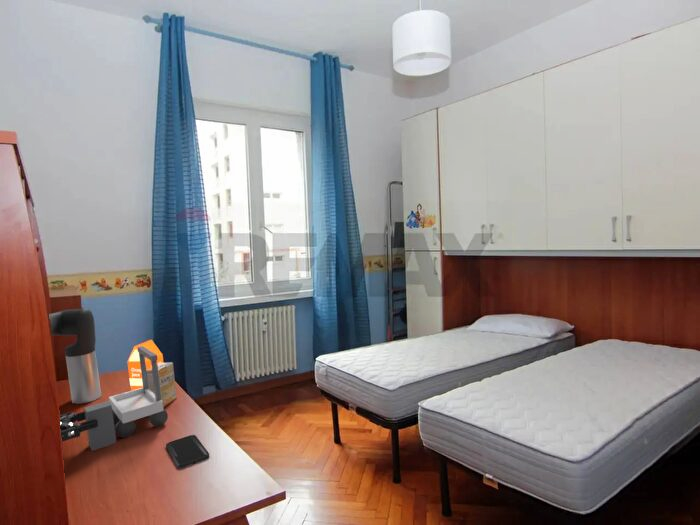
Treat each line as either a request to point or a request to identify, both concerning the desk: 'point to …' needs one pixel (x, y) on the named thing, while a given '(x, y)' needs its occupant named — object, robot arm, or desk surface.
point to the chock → (101, 425)
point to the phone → (187, 451)
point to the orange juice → (135, 366)
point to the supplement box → (164, 382)
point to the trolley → (139, 400)
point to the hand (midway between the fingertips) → (94, 417)
